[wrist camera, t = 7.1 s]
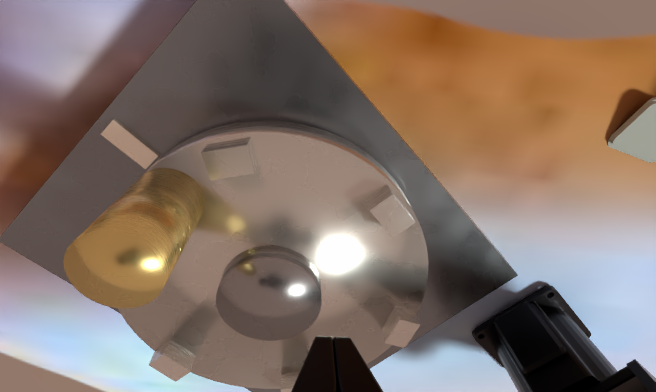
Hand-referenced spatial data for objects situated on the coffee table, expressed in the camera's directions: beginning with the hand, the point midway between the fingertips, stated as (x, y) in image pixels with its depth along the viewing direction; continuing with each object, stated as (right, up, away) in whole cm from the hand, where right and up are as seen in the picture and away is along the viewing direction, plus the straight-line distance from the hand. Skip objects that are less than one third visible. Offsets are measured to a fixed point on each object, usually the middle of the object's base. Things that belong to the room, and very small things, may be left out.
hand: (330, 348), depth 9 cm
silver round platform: (-3, 0, +11) cm, 12 cm away
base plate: (-3, +1, +13) cm, 14 cm away
